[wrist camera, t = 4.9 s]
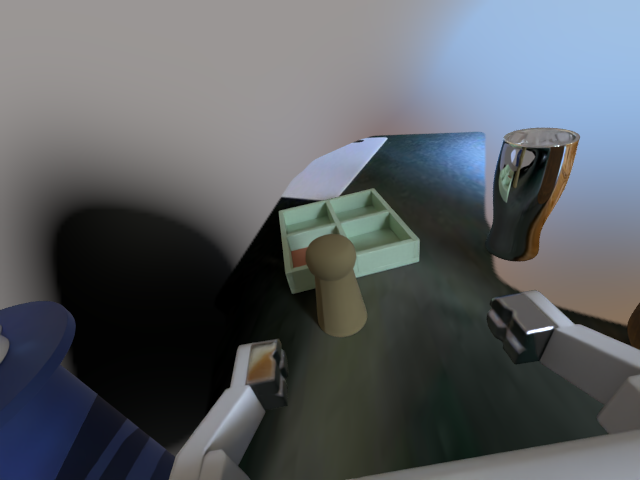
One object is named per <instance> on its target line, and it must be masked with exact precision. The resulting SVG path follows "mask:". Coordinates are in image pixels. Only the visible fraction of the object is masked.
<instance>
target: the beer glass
mask: <svg viewBox="0 0 640 480" xmlns="http://www.w3.org/2000/svg"><path fill="white" fill-rule="evenodd" d="M579 139H580V136H579V134H577V133H575V132H573V131H570V130H565V129H558V128H530V129H522V130H517V131H513V132H511V133H508V134H507V135H505V136H504V140H503V144H502V147H501V151H500V154H499V157H498V161H497V165H496V170H495V175H494V182H493V183H494V184H493V224H492V228H491V230H490V232H489V235H488V237H487V239H486V242H485V246H486V249H487V250H488V251H489V252H490V253H491V254H493V255H494V256H496V257H498V258H501V259H504V260H509V261H527V260H530V259H533V258H534V257H535V256H536V255H537V254H538V251H539V238H540V233H541V230H542V227H543V225H544V223H545V221H546V220H547V218H548V216H549V215H550V213H551V211H552V210H553V208H554V207H555V205H556V203H557V202H558V200H559V198H560V196H561V194H562V192H563V190H564V188H565V186H566V184H567V181H568V179H569V176H570V172H571V169H572V166H573V162H574V158H575V154H576V150H577V146H578V142H579Z"/></svg>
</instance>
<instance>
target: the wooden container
mask: <svg viewBox="0 0 640 480" xmlns="http://www.w3.org/2000/svg"><path fill="white" fill-rule="evenodd" d="M627 332H628V337H629V340H630V343H631V346H632V347H634V348H636V349H639V350H640V303H639V305H638V306H637V307H636V309H635V310H634V312H633V313H632V315H631V317H630V319H629V321H628V326H627Z"/></svg>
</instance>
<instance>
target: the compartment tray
mask: <svg viewBox="0 0 640 480" xmlns="http://www.w3.org/2000/svg"><path fill="white" fill-rule="evenodd" d="M279 219H280V228H281V238H282V247H283V256H284V265H285V274H286V277H287V280H288V283H289V286H290V289H291V292H292V294H295V293H299V292H302V291H306V290H310V289H314V288H315V276H314V275H313V274H312V273H311V272H310V270H309V268H308V266H307V264H306V250H307V248H308V246H309V244H310V243H311V242H312V241H313V240H314V239H316V238H318V237H320V236H323V235H327V234H339V235H343V236H345V237H347V238H348V239H349V240H350V241H351V242H352V243H353V245H354V247H355V251H356V262H355V266H354V268H353V270H354V273H355V276H356V278H357V277H361V276H365V275H369V274H373V273H377V272H380V271H384V270H388V269H392V268H396V267H400V266H404V265H408V264H412V263H416V262H419V249H420V240H419V238H418V237H417V236H416V235H415V234H414V233H413V232H412V231H411V230H410V228H409V227H408V226H407V225H406V224H405V223H404V222H403V221H402V219H401V218H400V217H399V216H398V215H397V214H396V213H395V212H394V210H393V209H392V208H391V207H390V206H389V205H388V204H387V203H386V202H385V200H384V199H383V198H382V197H381V196H380V195H379V194H378V193H377V191H376V190H375V189H374V188H373V189H369V190H365V191H360V192H356V193H352V194H348V195H344V196H340V197H335V198H331V199H327V200H323V201H319V202H315V203H310V204H306V205H302V206H298V207H294V208H290V209H286V210H281V211H279Z"/></svg>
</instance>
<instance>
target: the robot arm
mask: <svg viewBox="0 0 640 480" xmlns="http://www.w3.org/2000/svg"><path fill="white" fill-rule="evenodd" d="M490 306H491V307H492V309H491V310H490V311H489V312H488V314H487V323H488V327H489V329H490V331H491V332H492V334H493V335H494V337H495V338H497V339H499V340H501V341H502V342H503V349H504V350H505V352H506V353H507V354H508V356H509V357H510V358H511V360H512V361H513V362H514V364H521V363H528V362H534V361H539V362H540V363H542V364H543V365H545V366H546V367H548V368H549V369H551V370H552V371H554V372H555V373H557V374H558V375H560V376H561V377H563V378H564V379H566V380H567V381H569V382H570V383H572V384H573V385H575V386H576V387H578V388H580V389H581V390H583V391H584V392H586V393H587V394H589V395H590V396H592V397H593V398H595V399H596V400H598V401H599V402H601V403H602V404H604V405H605V406H604V407H603V408H602V409H601V411H600V412H599V413H598V414H597V420H598V422H599V423H600V424H601V425H602V426H603V428H604V429H605V430H606V431H607V432H608V434H607V435H601V436H596V437H590V438H584V439H578V440H573V441H567V442H561V443H555V444H550V445H544V446H538V447H532V448H526V449H521V450H515V451H509V452H503V453H498V454H492V455H486V456H480V457H475V458H469V459H463V460H457V461H452V462H446V463H440V464H434V465H428V466H423V467H417V468H411V469H405V470H400V471H394V472H388V473H382V474H377V475H371V476H365V477H359V478H354V479H348V480H640V350H639V349H636V348H634V347H632V346H629V345H627V344H625V343H622V342H620V341H618V340H615V339H613V338H611V337H608V336H606V335H604V334H601V333H599V332H597V331H595V330H592V329H590V328H588V327H585V326H583V325H581V324H574V323H573V322H572V321H570V320H569V319H568V318H567V317H566V316H565V315H564V314H563V313H562V312H561V311H560V310H559V309H558V308H556V307H555V306H554V305H553V304H552V303H551V302H550V301H549V300H548V299H547V298H546V297H545V296H544V295H542V294H541V293H540V292H539V291H537V290H531V291H526V292H521V293H514V294H509V295H504V296H499V297H495V298H493V299H492V300H491V302H490ZM1 331H2V326H1V325H0V363H1V362H2V361H3V359H4V357H5V356H6V354H7V352H8V349H9V340H8V339H7V338H6V337H4V336H2V335H1ZM287 377H288V363H287V357H286V354H285V351H284V350H282V349H281V342H280V340H279V339H274V340H268V341H262V342H256V343H250V344H244V345H239V347H238V349H237V354H236V359H235V364H234V369H233V375H232V380H231V385H230V388H229V389H226V390H225V391H224V392H223V394H222V395H221V396H220V398H219V399H218V400H217V402H216V403H215V404H214V406H213V407H212V408H211V410H210V411H209V412H208V414H207V415H206V416H205V418H204V419H203V420H202V422H201V423H200V424H199V426H198V427H197V428H196V430H195V431H194V433H193V434H192V435H191V436H190V438H189V439H188V440H187V442H186V443H185V445H184V446H183V447H182V448H181V450H180V451H179V452H178V454H177V455H176V458H175V461H174V464H173V468H172V471H171V474H170V478H169V480H250V479H249V477H248V476H247V475H246V474H245V473H244V472H243V471H242V470H241V469H240V468H239V467H238V465H239V463H240V461H241V459H242V457H243V455H244V453H245V451H246V449H247V447H248V445H249V443H250V441H251V439H252V437H253V435H254V433H255V431H256V430H257V428H258V426H259V424H260V422H261V420H262V418H263V416H264V414H265V410H270V409H275V408H279V407H284V406H288V386H287V384H286V382H285V380H286V378H287Z"/></svg>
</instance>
